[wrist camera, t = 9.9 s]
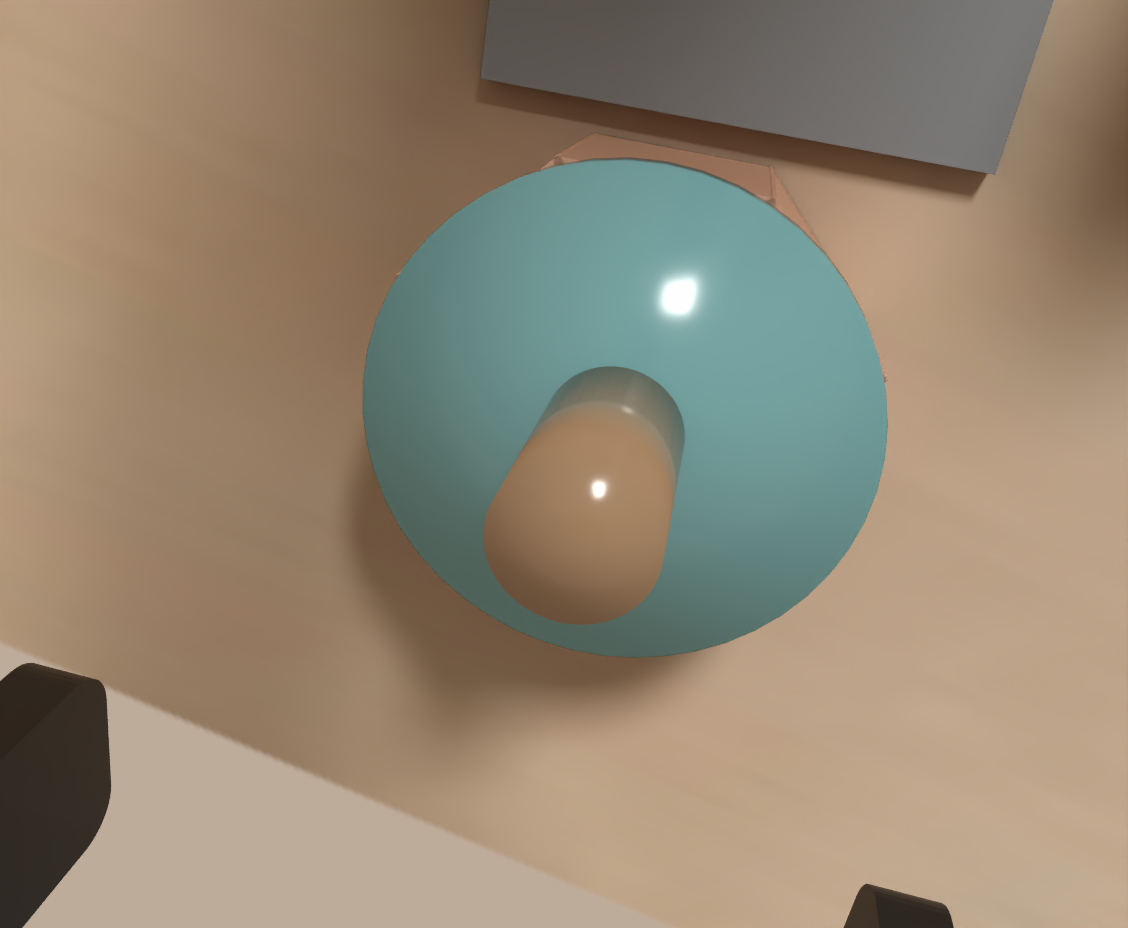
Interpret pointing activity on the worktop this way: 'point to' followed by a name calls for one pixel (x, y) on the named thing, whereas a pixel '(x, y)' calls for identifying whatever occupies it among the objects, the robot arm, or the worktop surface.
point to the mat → (789, 65)
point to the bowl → (738, 172)
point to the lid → (625, 407)
